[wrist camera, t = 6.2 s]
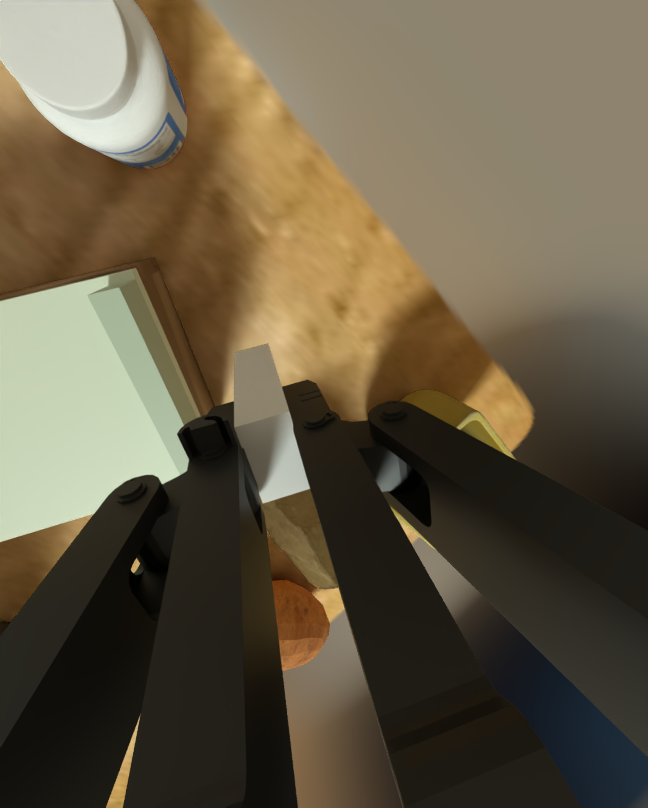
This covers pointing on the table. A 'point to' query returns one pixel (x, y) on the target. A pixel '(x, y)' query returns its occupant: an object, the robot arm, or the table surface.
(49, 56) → the pill bottle
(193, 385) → the box
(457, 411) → the flower pot
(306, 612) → the potato
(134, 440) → the lid
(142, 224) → the table surface
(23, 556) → the table surface
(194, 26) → the table surface
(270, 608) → the robot arm
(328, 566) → the rock
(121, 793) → the table surface
